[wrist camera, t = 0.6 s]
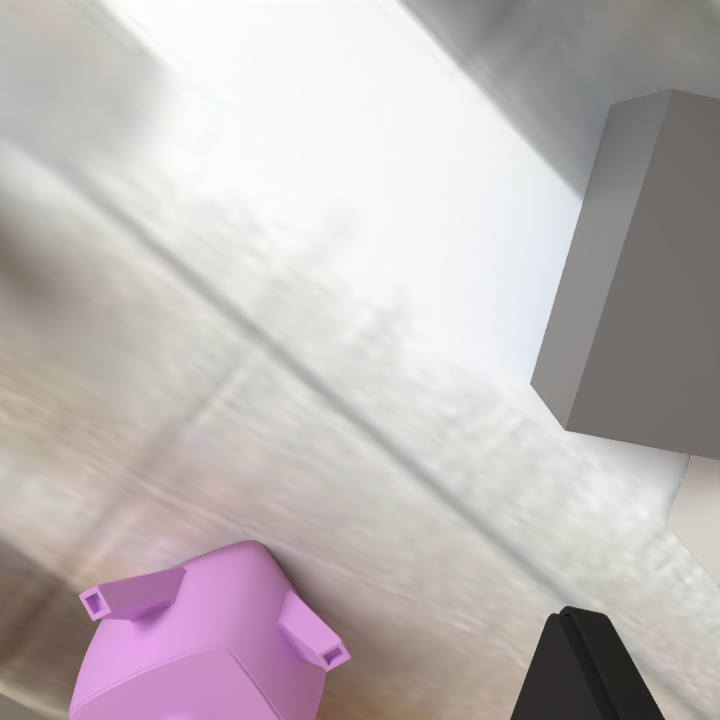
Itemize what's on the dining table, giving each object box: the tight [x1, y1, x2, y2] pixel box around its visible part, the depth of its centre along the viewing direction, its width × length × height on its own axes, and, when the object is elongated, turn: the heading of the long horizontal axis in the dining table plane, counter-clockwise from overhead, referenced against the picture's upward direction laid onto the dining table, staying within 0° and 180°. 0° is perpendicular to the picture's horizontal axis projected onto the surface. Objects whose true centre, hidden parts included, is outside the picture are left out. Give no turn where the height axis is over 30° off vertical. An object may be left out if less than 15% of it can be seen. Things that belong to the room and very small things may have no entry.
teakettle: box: [68, 541, 351, 720], centre depth 44 cm, size 17×17×12 cm
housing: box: [530, 89, 720, 460], centre depth 37 cm, size 18×12×8 cm, turn 169°
